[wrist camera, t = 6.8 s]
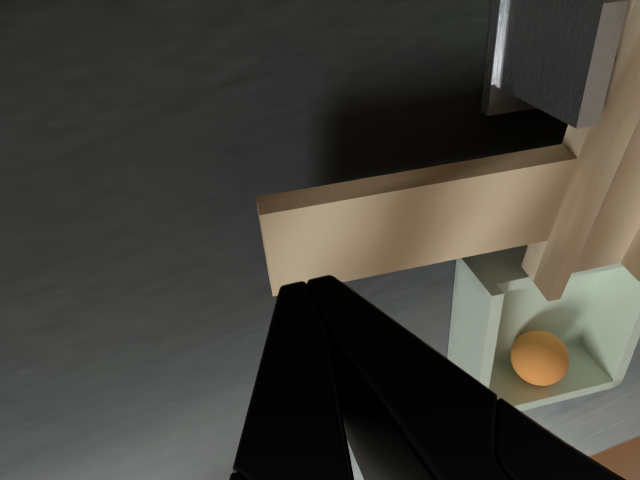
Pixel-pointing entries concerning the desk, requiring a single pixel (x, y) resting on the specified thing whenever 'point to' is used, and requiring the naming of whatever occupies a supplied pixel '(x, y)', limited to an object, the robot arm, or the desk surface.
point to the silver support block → (552, 57)
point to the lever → (480, 204)
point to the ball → (539, 358)
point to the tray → (542, 326)
